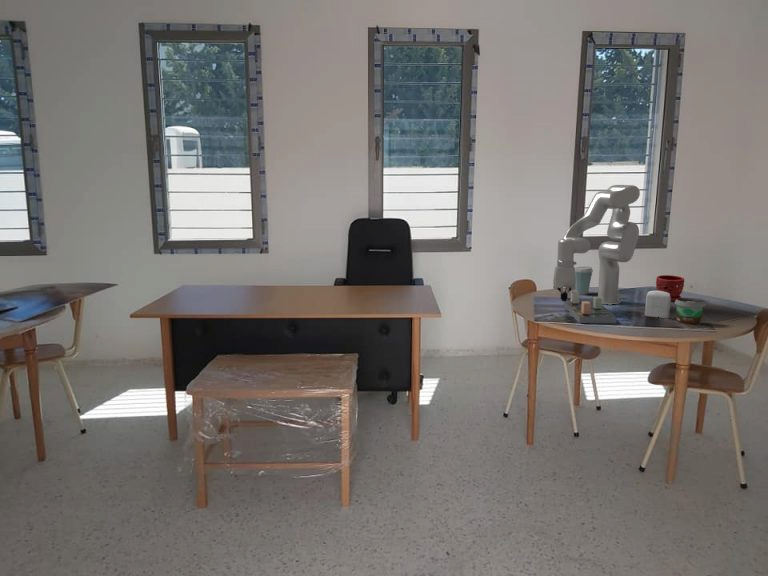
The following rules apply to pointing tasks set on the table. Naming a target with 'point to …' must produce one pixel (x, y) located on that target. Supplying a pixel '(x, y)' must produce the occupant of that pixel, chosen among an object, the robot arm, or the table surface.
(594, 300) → the slider sage
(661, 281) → the plant pot
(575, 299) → the slider ivory
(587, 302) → the slider terracotta
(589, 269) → the disposable coffee cup
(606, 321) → the grey slotted slider board
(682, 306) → the food container
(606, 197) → the robot arm
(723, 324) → the table surface
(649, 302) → the photo printer
